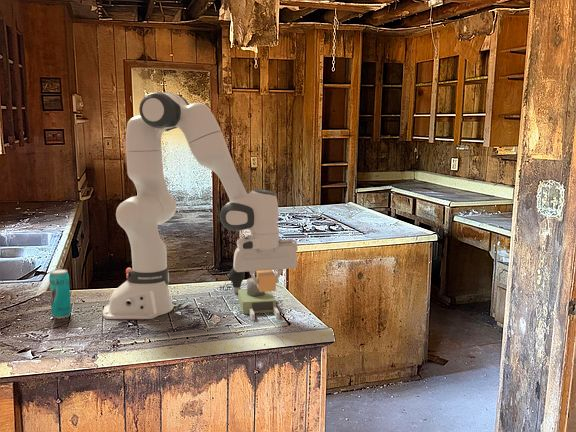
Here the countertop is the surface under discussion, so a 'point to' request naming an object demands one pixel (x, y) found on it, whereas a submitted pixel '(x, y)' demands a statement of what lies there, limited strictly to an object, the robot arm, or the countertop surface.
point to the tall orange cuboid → (266, 280)
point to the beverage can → (60, 293)
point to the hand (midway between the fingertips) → (265, 283)
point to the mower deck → (256, 301)
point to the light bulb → (236, 279)
